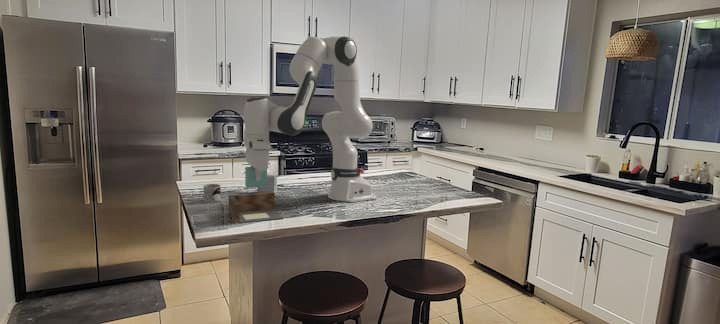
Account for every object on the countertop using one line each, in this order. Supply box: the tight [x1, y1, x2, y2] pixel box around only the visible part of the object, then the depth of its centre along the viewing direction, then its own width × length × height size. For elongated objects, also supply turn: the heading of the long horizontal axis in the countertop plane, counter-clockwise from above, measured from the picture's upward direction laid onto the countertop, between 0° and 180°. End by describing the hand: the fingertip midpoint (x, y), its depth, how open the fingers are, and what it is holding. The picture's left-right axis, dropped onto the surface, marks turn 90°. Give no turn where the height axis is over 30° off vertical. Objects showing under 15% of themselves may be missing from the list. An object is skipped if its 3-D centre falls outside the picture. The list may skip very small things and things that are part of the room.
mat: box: [239, 209, 284, 224], centre depth 157 cm, size 16×12×1 cm
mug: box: [203, 183, 222, 204], centre depth 176 cm, size 10×7×7 cm, turn 170°
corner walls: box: [228, 192, 276, 224], centre depth 157 cm, size 18×14×7 cm
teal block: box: [244, 166, 268, 189], centre depth 153 cm, size 4×7×7 cm, turn 117°
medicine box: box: [257, 173, 278, 194], centre depth 191 cm, size 8×4×9 cm, turn 84°
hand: (256, 178), depth 153 cm, fingers closed on teal block, 4 cm apart
